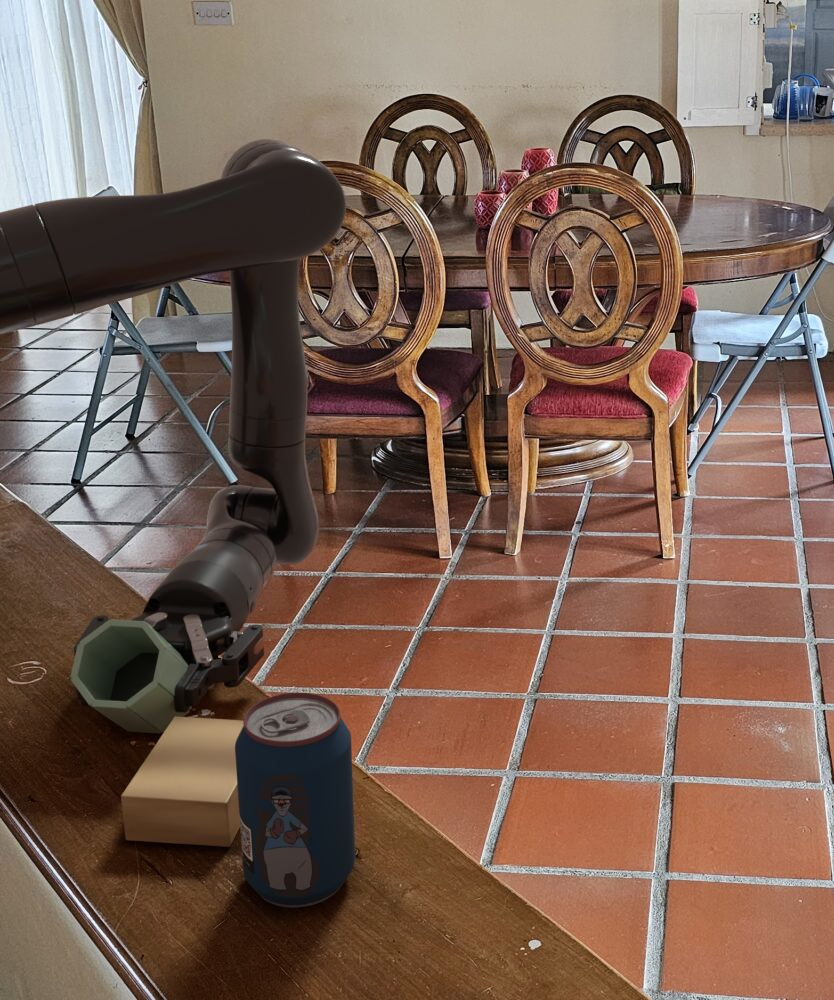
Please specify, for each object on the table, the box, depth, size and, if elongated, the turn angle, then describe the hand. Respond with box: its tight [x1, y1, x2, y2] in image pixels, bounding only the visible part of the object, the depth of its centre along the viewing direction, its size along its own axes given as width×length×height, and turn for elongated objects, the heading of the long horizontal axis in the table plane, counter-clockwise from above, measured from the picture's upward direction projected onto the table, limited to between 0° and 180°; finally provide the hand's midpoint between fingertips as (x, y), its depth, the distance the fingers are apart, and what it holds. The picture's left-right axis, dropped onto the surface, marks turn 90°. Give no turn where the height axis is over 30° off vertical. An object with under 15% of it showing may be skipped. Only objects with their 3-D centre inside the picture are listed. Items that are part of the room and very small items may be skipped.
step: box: [120, 716, 244, 848], centre depth 89 cm, size 10×7×4 cm
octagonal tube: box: [69, 618, 193, 734], centre depth 95 cm, size 8×6×6 cm
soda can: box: [235, 691, 356, 909], centre depth 81 cm, size 7×7×12 cm
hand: (132, 698), depth 95 cm, fingers closed on octagonal tube, 6 cm apart
